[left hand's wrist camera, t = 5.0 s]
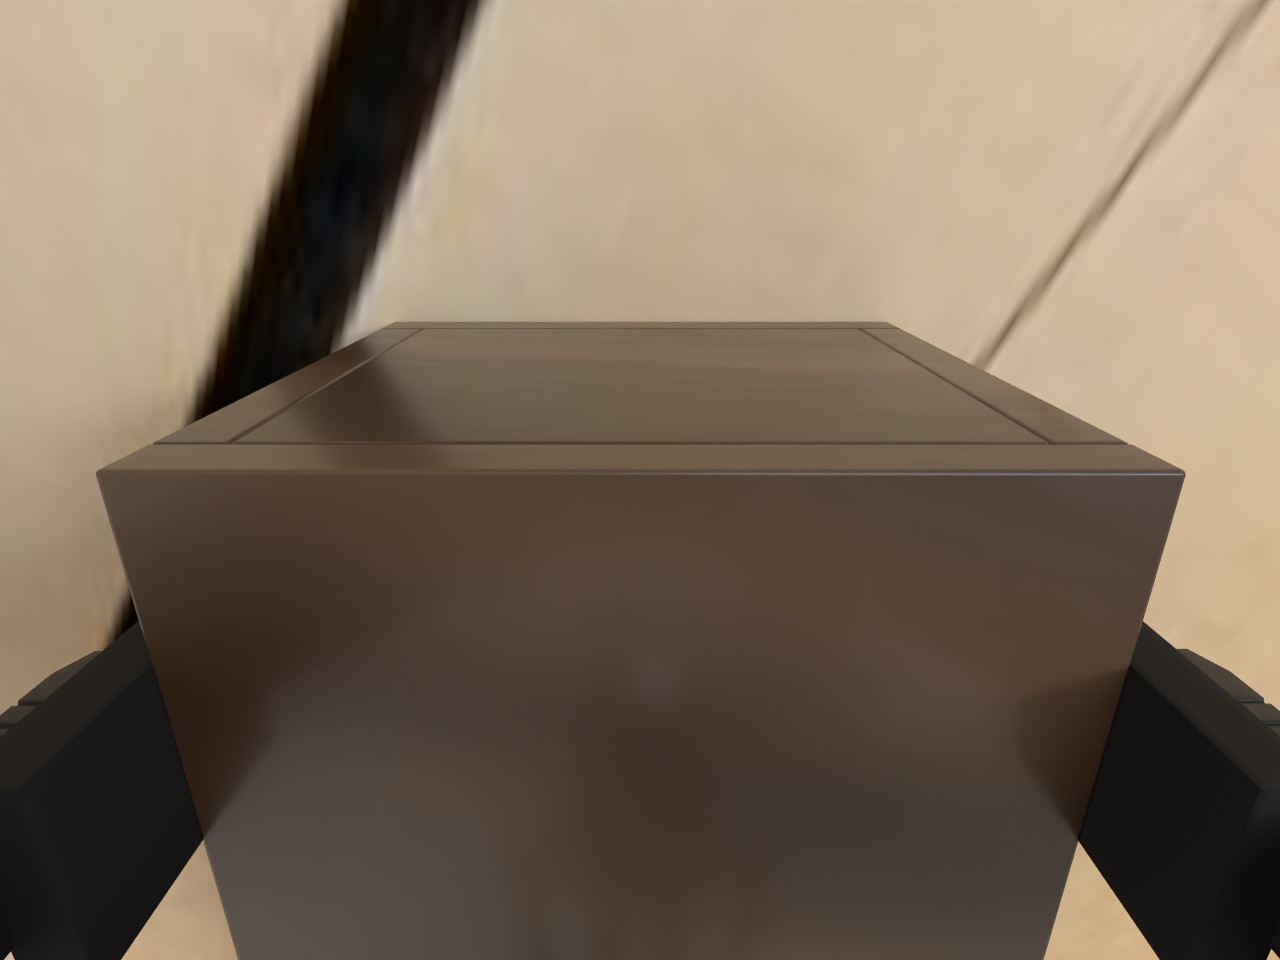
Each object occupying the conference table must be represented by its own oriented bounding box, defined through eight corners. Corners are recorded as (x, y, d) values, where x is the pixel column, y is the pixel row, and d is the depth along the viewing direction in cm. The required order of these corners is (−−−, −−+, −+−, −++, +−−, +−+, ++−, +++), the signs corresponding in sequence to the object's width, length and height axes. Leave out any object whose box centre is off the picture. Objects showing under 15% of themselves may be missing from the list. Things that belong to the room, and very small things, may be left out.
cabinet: (808, 972, 24) (907, 1429, 15) (473, 971, 24) (374, 1427, 15) (888, 321, 16) (1190, 471, 7) (393, 321, 17) (92, 470, 7)
